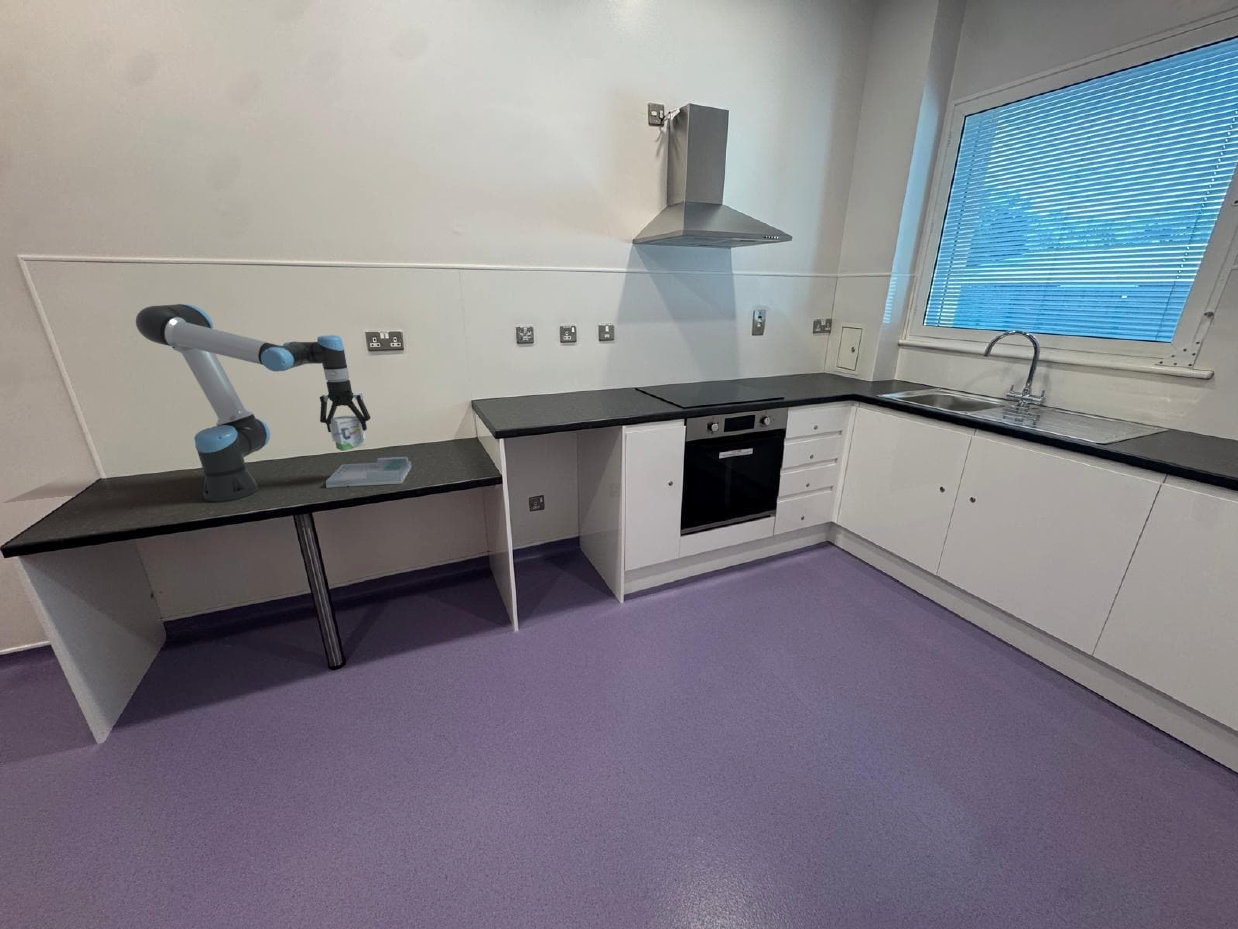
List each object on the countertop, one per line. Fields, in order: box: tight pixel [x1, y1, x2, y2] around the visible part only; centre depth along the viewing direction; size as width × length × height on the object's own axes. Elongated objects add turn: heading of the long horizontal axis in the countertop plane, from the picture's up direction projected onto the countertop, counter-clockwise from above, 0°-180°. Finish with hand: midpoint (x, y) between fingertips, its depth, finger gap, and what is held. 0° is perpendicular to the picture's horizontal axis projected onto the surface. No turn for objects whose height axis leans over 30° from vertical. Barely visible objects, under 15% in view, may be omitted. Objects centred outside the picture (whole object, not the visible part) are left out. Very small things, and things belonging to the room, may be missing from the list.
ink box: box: [331, 413, 366, 452], centre depth 184 cm, size 9×5×12 cm, turn 143°
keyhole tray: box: [325, 456, 413, 489], centre depth 190 cm, size 26×18×4 cm
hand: (349, 439), depth 185 cm, fingers closed on ink box, 9 cm apart
